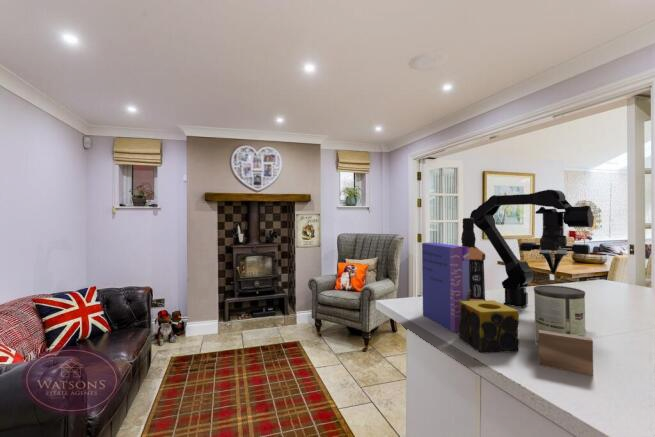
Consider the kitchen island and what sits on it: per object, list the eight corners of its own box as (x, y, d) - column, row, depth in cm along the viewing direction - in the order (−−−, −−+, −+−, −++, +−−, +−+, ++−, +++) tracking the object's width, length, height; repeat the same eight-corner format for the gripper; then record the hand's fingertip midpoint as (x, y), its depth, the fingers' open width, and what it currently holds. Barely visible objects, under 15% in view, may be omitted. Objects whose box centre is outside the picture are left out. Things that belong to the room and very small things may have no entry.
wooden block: (538, 351, 75) (538, 322, 75) (587, 360, 70) (586, 329, 71) (539, 365, 69) (538, 332, 69) (593, 375, 64) (592, 340, 64)
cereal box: (469, 331, 89) (468, 246, 89) (454, 333, 88) (453, 246, 88) (435, 314, 106) (435, 242, 106) (422, 315, 105) (422, 242, 105)
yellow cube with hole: (458, 338, 85) (457, 300, 85) (494, 336, 86) (493, 299, 86) (479, 354, 75) (479, 311, 75) (520, 352, 75) (519, 310, 76)
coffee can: (541, 335, 86) (540, 283, 86) (589, 346, 78) (589, 289, 78) (528, 346, 79) (528, 289, 79) (581, 359, 71) (580, 296, 71)
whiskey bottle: (487, 312, 107) (486, 217, 107) (456, 310, 110) (455, 218, 110) (481, 304, 117) (480, 217, 117) (452, 303, 120) (451, 218, 120)
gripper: (515, 227, 108) (515, 273, 107) (585, 227, 94) (586, 280, 94) (523, 226, 115) (524, 269, 115) (589, 227, 102) (590, 275, 102)
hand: (553, 273), depth 107 cm, fingers closed
